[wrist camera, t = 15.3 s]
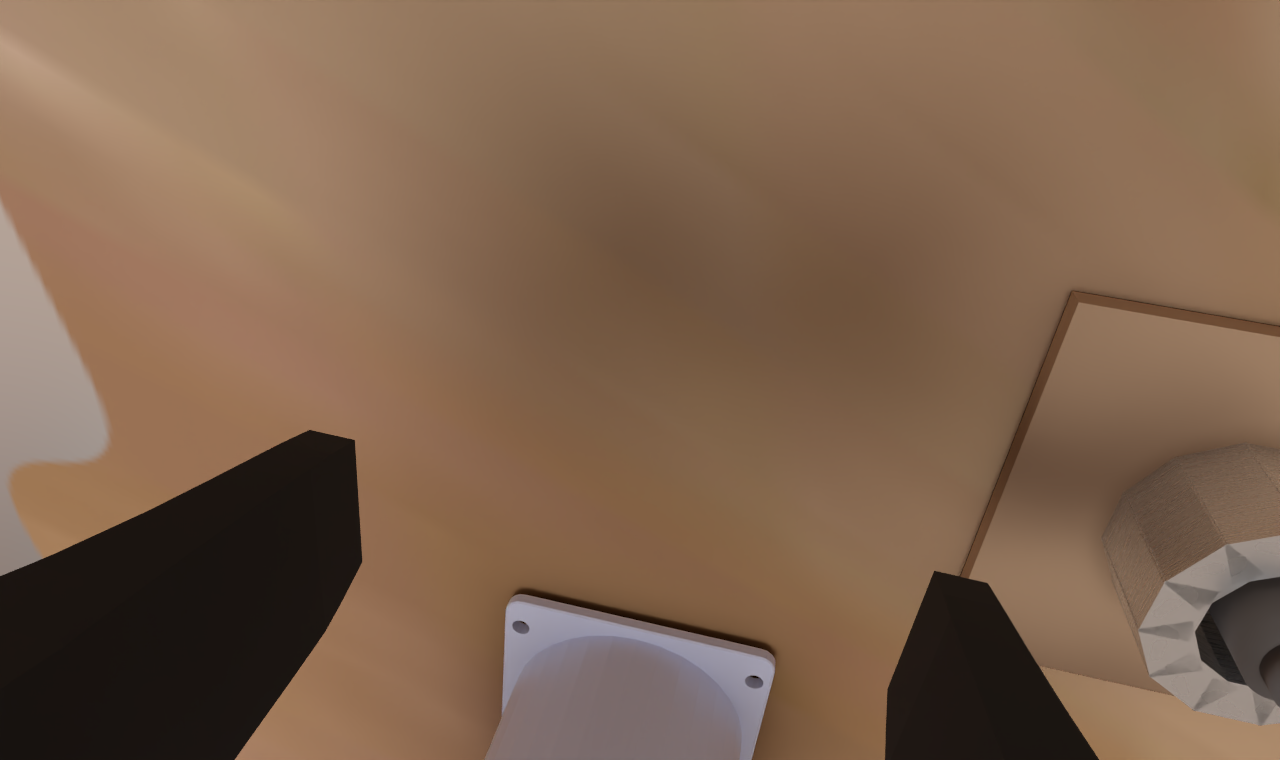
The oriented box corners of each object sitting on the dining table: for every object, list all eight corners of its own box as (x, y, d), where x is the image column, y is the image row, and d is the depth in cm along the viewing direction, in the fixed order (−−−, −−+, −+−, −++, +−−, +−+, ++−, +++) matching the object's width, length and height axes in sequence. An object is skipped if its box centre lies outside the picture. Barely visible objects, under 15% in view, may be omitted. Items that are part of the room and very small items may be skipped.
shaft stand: (1337, 715, 22) (1454, 910, 18) (940, 627, 24) (961, 791, 19) (1594, 380, 17) (1841, 542, 13) (1072, 291, 18) (1140, 411, 14)
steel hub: (1290, 641, 21) (1353, 746, 18) (1073, 595, 21) (1103, 691, 19) (1406, 472, 18) (1498, 567, 16) (1155, 425, 19) (1203, 508, 16)
